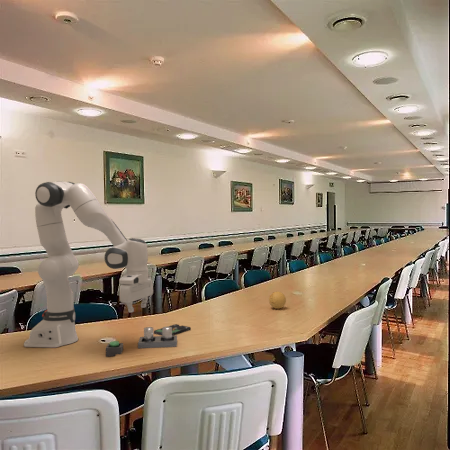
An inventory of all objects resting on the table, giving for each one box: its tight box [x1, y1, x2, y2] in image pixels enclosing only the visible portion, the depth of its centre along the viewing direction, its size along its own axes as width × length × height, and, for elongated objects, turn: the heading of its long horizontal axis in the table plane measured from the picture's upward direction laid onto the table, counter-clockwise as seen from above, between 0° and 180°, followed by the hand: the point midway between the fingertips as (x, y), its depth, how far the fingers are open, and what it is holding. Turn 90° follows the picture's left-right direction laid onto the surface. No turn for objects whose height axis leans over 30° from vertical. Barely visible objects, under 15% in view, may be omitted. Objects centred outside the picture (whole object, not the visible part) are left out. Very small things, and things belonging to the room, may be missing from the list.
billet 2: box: [162, 325, 172, 341], centre depth 186 cm, size 4×4×7 cm
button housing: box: [105, 342, 124, 358], centre depth 176 cm, size 6×6×4 cm
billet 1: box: [143, 326, 154, 342], centre depth 185 cm, size 4×4×7 cm
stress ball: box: [268, 291, 287, 310], centre depth 253 cm, size 10×10×10 cm
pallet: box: [137, 334, 178, 349], centre depth 186 cm, size 16×9×3 cm, turn 95°
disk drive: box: [153, 323, 191, 336], centre depth 205 cm, size 10×3×15 cm
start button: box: [109, 340, 120, 347], centre depth 176 cm, size 4×4×1 cm
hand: (137, 309), depth 183 cm, fingers open, 8 cm apart
